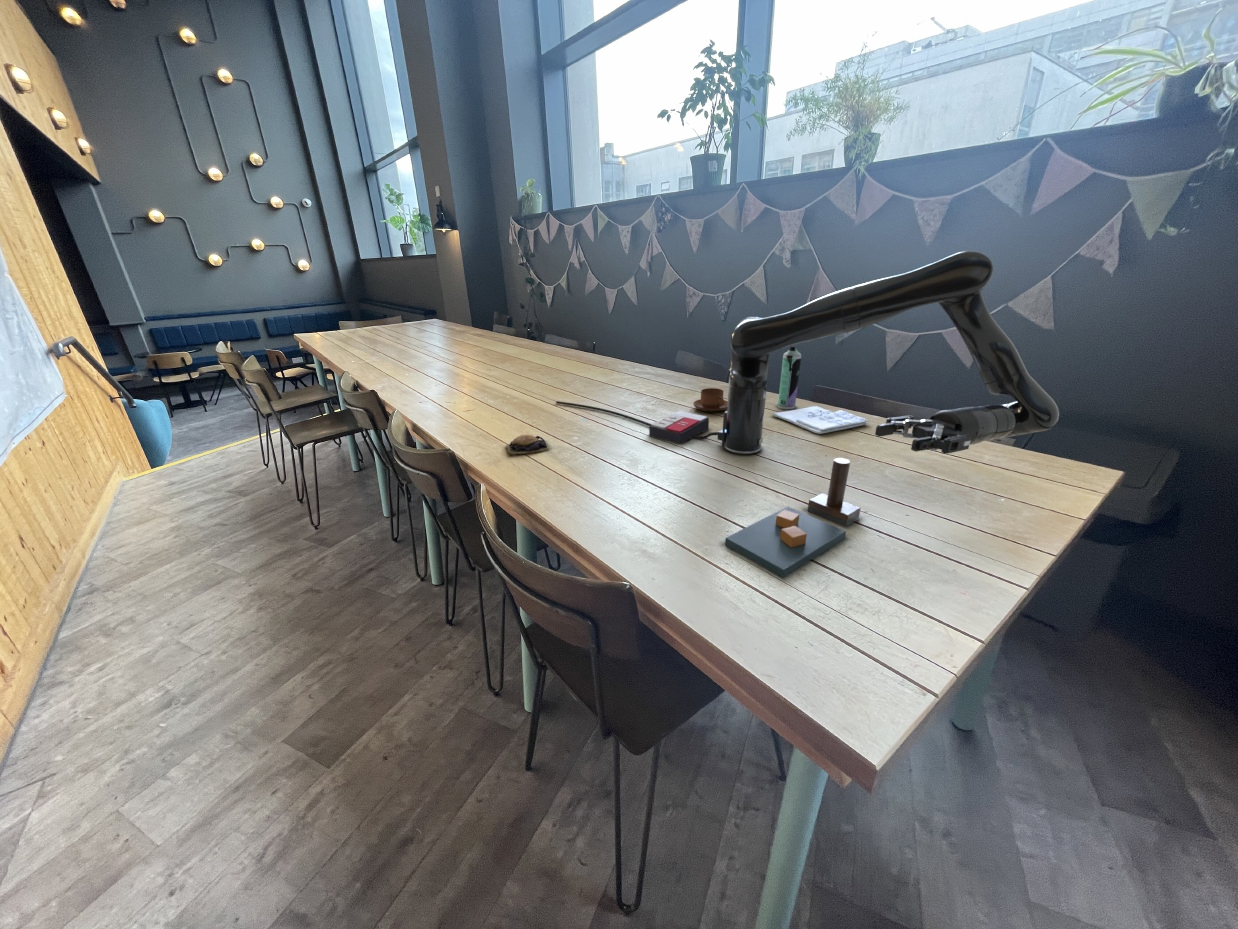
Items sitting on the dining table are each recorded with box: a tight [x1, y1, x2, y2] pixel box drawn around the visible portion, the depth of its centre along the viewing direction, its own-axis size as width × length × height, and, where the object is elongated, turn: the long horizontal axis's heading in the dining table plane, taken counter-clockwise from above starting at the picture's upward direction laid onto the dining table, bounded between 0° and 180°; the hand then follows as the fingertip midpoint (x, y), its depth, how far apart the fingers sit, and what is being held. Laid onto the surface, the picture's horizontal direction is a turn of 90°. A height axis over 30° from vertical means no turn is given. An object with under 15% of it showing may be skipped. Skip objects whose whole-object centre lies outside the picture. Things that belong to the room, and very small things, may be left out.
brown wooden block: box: [776, 510, 799, 528], centre depth 85 cm, size 3×3×2 cm
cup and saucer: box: [693, 387, 728, 413], centre depth 156 cm, size 12×12×6 cm
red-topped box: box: [648, 410, 710, 444], centre depth 136 cm, size 11×4×15 cm
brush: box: [807, 457, 861, 528], centre depth 89 cm, size 8×4×12 cm, turn 36°
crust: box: [780, 526, 807, 547], centre depth 80 cm, size 3×3×2 cm
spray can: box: [777, 345, 802, 410], centre depth 153 cm, size 6×6×20 cm
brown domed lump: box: [506, 434, 549, 456], centre depth 128 cm, size 11×8×4 cm
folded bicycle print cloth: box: [772, 405, 869, 435], centre depth 142 cm, size 19×20×2 cm
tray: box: [724, 506, 847, 578], centre depth 83 cm, size 12×18×2 cm, turn 126°
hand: (894, 438), depth 88 cm, fingers open, 8 cm apart
